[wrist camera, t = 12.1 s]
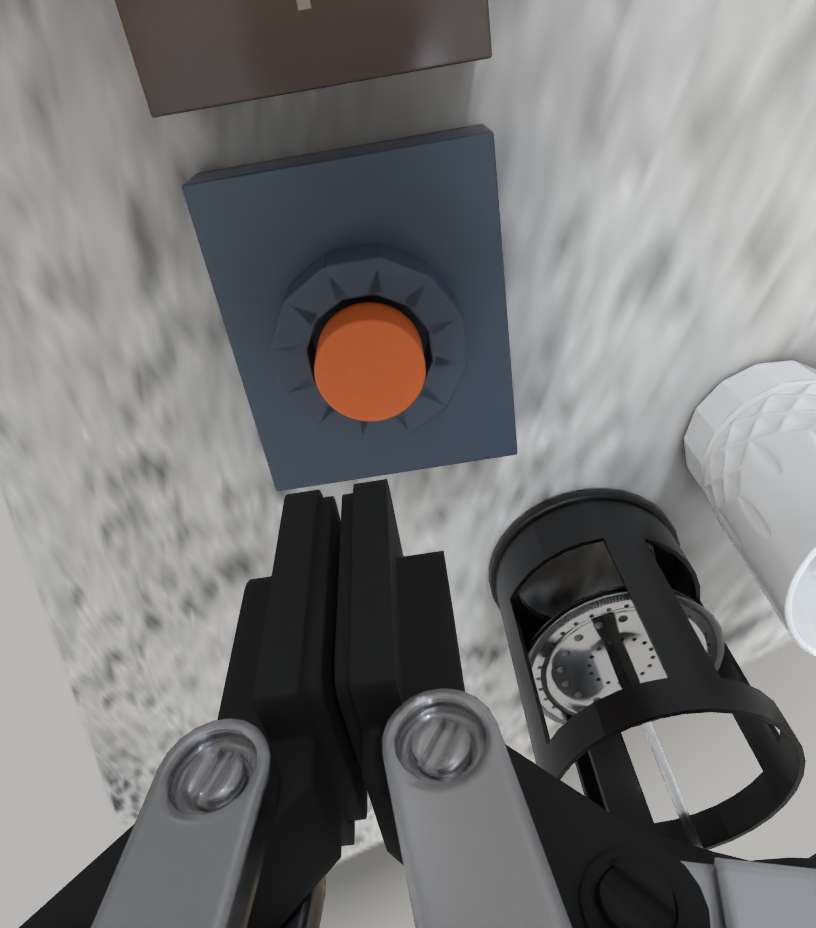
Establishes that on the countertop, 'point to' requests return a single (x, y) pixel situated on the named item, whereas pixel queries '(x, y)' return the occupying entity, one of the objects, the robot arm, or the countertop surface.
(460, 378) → the button block
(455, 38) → the panel
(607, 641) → the french press
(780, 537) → the white cup
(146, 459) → the countertop surface
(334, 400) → the release button
